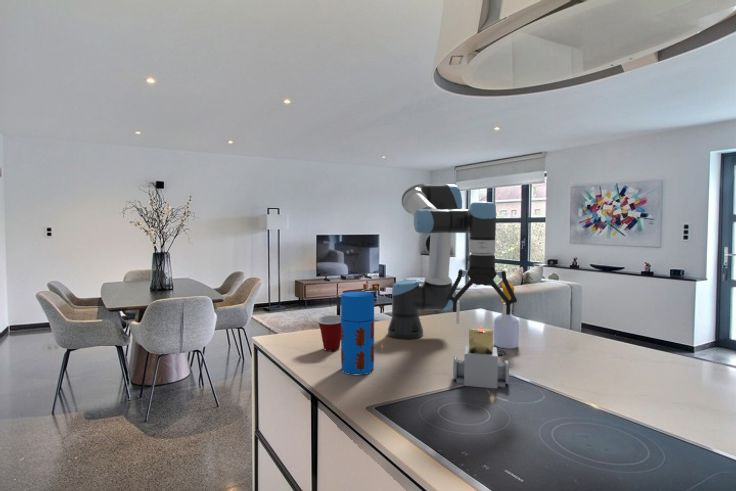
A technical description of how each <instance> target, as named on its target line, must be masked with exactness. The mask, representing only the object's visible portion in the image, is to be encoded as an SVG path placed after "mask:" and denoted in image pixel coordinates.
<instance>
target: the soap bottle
mask: <svg viewBox="0 0 736 491" xmlns="http://www.w3.org/2000/svg"><path fill="white" fill-rule="evenodd" d="M508 283H509V285H510V287H511V289H512V291H513V293H514V294H515V288H514V285H513V283H511V282H508ZM500 284H501V287H502V291H503V293H504V294H505V295H506V296H507V297H508V299H510V298H511V296H510V294H509V292H508V290H507V288H506V286H505V284H504V282H500ZM500 302H501V303H506V302H505V301H504V300H503V299H501V300H500ZM493 324H494V328H493V329H494V330H493V345H494V347H496V348H501V349H506V350H507V349H508V350H510V349H511V350H512V349H516V348H518V347H519V346H520V345H519V340H520V338H519V334H520V328H519V327H520V322H519V319H518V318H517V316H515V315H513V314H512V308H511V307H510V315H506V327H505V326H503V307H502V310H501V313H500V314H498V316H496V317H495V319H494V323H493Z"/></svg>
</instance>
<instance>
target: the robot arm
mask: <svg viewBox="0 0 736 491" xmlns="http://www.w3.org/2000/svg"><path fill="white" fill-rule="evenodd" d="M401 206H402V208H403V209H404V210H405V212H407V213H408V214H410V215H412V216H413V227H414V230H415V232H417V233H418V234H430V236H429V238H430V239H429V240H430V241H429V256H428V272H427V273H428V275H427V276H425V277H424V279H423V280H424V282H420V280H419V279H405V280H400V281H399V280H398V281H397V282H394V283H393V284H392V287H391V288H392V289H391V319H390V322H389V325H388V329H387V335H388V336H389V337H391V338H395V339H400V340H401V339H402V340H413V339H419V338H421V337H423V336H424V329H423V325H422V321H421V319H420V311H447V310H451V309H452V312H453V313H456V324H457V325H458V324H460V306H461V305H460V300H459V299H460V298H461V297H462V296H463V295H464V294H465V293H466V292H467V290H469V289H470V288H471V287H472V286H473V285H476V286H488V285H490V286H491V287H492V288H493V289H494V291H495V292H496V293H497V294H498V295H499V296H500V298H501V300H504V301H505V302H506V303H503V302H502V303H503V304H502V308H503V326H505V327H506V315H510V308H511V304H514V303H517V302H518V300H517V297H516V295H515V292H514V293H513V291H512V289H511V287H510V285H509V283H510V282H509V281H508V278H507V273H506V271H505V270H504V269H502V270H496V256H495V253H496V237H497V236H496V233H497V232H496V230H497V205H496V203H495V202H491V201H490V202H489V201H480V202H479V201H476V202H471V203H470V206H469V209H468V208H467V209H463V197H462V193H461V189H460V188H459V187H458V185H456V184H451V183H450V184H449V183H419V184H414V185H412V186H410V187H408V188H407V189H406V190H404V193H403V194H402V196H401ZM467 233H468V234H469V249H468V250H469V253H470V255H469V256H468V269H467V270H466V269H462V268H460V269H459V270H458V272H457V278H456V279H455V281H454V282H453V280H452V279H451V277H450V276H449V275H450V274H449V273H450V259H451V246H452V234H467ZM466 275H467V277H469V280H468V281H467V282H466V284H465V285H463V287H462V288H460V290H459V291H458V292H456V291H457V288H458V286H459V284H460V282H461V281H462V278H465V276H466ZM496 276H498V278H499V279H502V283H504V284H505V286H506V288H507V290H508V292H509V294H510V296H511V298H510V299H508V297H507V296H506V295H505V294H504V293H503V289H501V287H499V285H498V284H497V283H496V282H495V280H494V279H495V278H496Z"/></svg>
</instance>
